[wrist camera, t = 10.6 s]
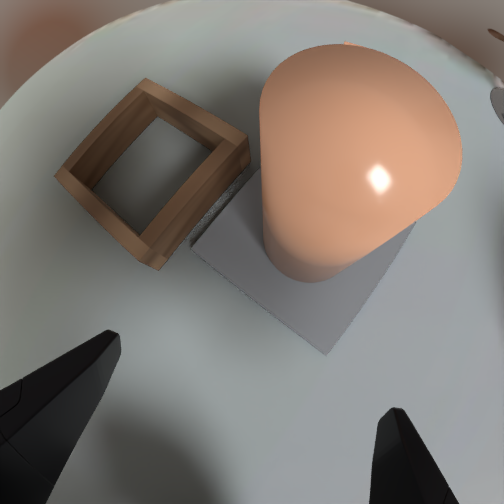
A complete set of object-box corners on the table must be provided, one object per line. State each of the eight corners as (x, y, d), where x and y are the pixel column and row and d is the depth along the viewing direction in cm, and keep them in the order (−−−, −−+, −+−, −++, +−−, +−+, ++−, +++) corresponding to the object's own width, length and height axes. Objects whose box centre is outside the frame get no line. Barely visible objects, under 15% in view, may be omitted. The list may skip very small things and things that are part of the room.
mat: (413, 224, 21) (416, 222, 20) (324, 354, 19) (326, 355, 19) (290, 136, 23) (291, 132, 22) (192, 250, 21) (190, 248, 21)
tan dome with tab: (344, 292, 20) (461, 247, 7) (252, 269, 20) (231, 182, 7) (366, 170, 21) (446, 36, 9) (285, 148, 22) (299, -8, 9)
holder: (251, 161, 22) (247, 135, 19) (158, 270, 21) (139, 261, 18) (158, 103, 24) (145, 77, 21) (77, 193, 23) (53, 176, 19)
